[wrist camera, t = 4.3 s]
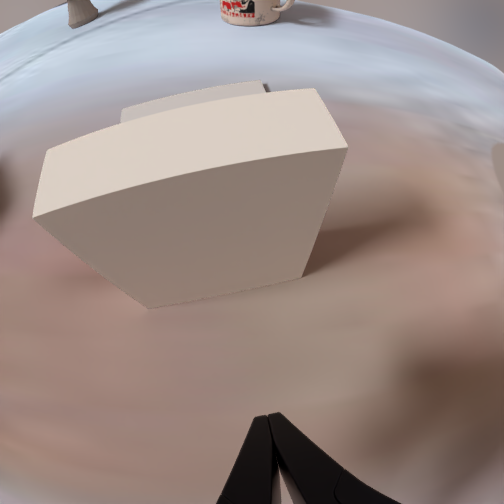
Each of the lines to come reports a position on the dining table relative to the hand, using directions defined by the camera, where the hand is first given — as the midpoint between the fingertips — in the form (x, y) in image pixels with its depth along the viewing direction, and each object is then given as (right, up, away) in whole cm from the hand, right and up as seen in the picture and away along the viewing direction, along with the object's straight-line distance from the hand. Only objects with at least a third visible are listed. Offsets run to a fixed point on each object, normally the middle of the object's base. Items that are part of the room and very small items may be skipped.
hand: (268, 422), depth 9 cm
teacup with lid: (0, +39, +26) cm, 47 cm away
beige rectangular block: (-3, +4, +11) cm, 12 cm away
